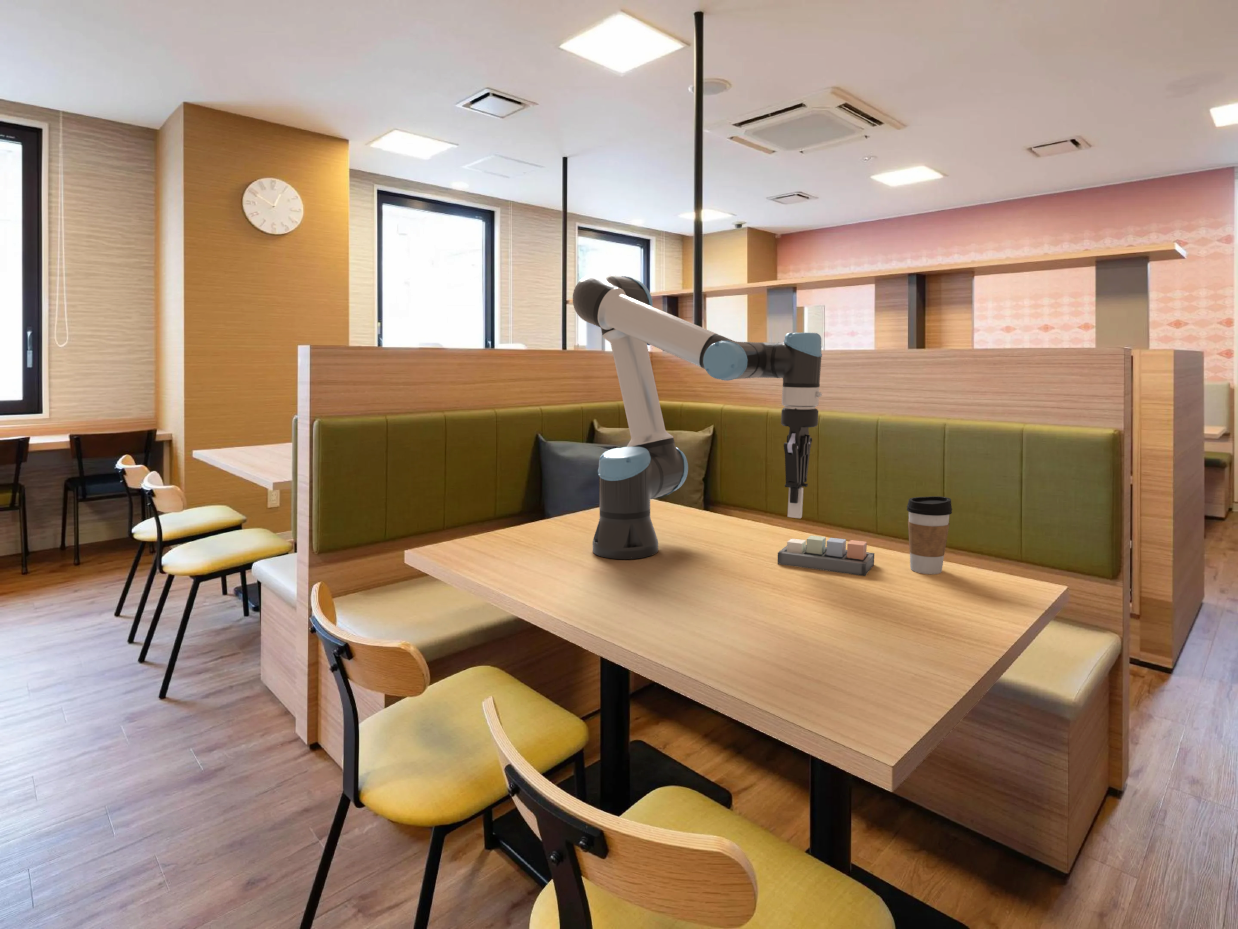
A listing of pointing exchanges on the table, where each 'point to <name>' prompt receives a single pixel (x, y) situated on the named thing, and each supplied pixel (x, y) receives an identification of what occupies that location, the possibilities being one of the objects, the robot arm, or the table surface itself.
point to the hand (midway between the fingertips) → (794, 516)
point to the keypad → (827, 562)
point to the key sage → (816, 544)
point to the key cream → (796, 546)
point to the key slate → (836, 547)
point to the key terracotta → (856, 549)
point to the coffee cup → (928, 532)
